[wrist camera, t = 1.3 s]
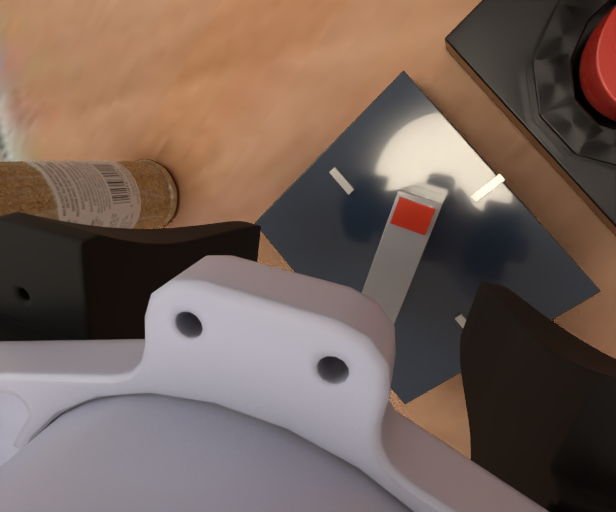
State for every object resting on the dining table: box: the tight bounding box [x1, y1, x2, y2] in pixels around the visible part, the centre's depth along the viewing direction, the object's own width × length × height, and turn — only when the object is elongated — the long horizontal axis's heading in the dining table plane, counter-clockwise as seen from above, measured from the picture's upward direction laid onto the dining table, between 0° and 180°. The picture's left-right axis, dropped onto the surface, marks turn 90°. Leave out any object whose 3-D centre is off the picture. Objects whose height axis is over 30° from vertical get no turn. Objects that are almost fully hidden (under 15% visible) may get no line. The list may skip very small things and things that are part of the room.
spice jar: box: [0, 159, 177, 229], centre depth 20 cm, size 5×5×13 cm
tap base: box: [255, 71, 600, 404], centre depth 19 cm, size 12×10×3 cm
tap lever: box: [362, 185, 446, 325], centre depth 16 cm, size 6×2×4 cm, turn 164°
